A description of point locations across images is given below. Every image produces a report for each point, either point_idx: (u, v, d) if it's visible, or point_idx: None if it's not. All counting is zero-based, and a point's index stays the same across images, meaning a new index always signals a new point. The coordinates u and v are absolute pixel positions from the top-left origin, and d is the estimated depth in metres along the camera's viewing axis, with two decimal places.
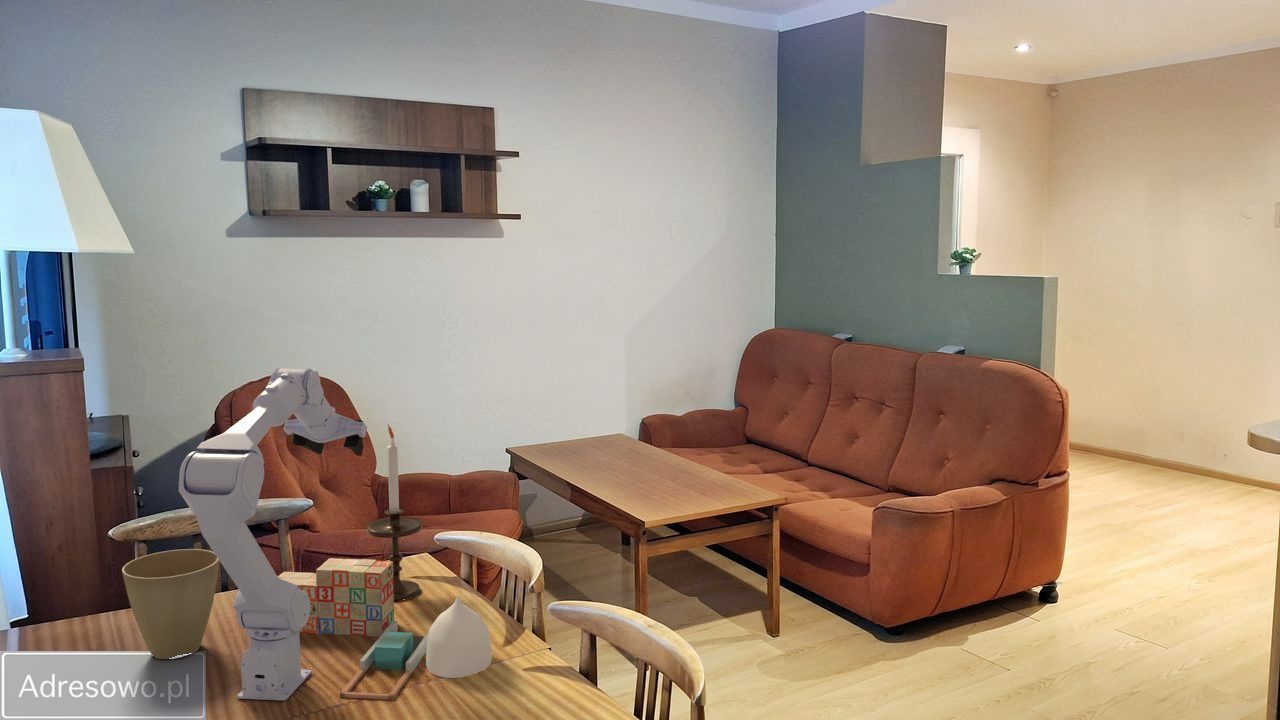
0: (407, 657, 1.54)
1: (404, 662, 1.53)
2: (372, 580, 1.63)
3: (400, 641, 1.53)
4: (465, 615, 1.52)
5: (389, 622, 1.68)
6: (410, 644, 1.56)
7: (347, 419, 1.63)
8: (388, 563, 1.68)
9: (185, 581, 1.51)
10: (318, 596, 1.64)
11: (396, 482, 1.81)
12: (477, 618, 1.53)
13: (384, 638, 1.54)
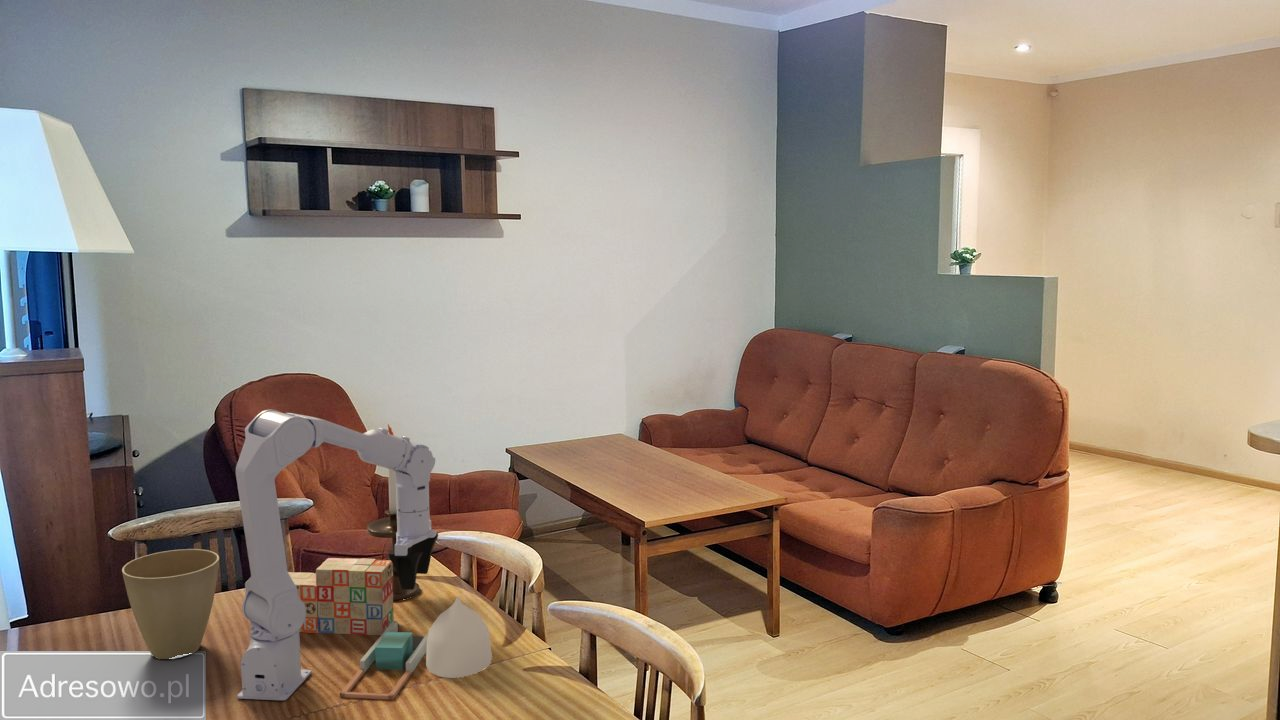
0: (407, 657, 1.54)
1: (404, 662, 1.53)
2: (373, 579, 1.64)
3: (400, 641, 1.53)
4: (465, 615, 1.52)
5: (389, 621, 1.68)
6: (410, 644, 1.56)
7: (415, 540, 1.59)
8: (388, 562, 1.68)
9: (185, 581, 1.51)
10: (318, 596, 1.64)
11: None
12: (477, 618, 1.53)
13: (384, 638, 1.54)
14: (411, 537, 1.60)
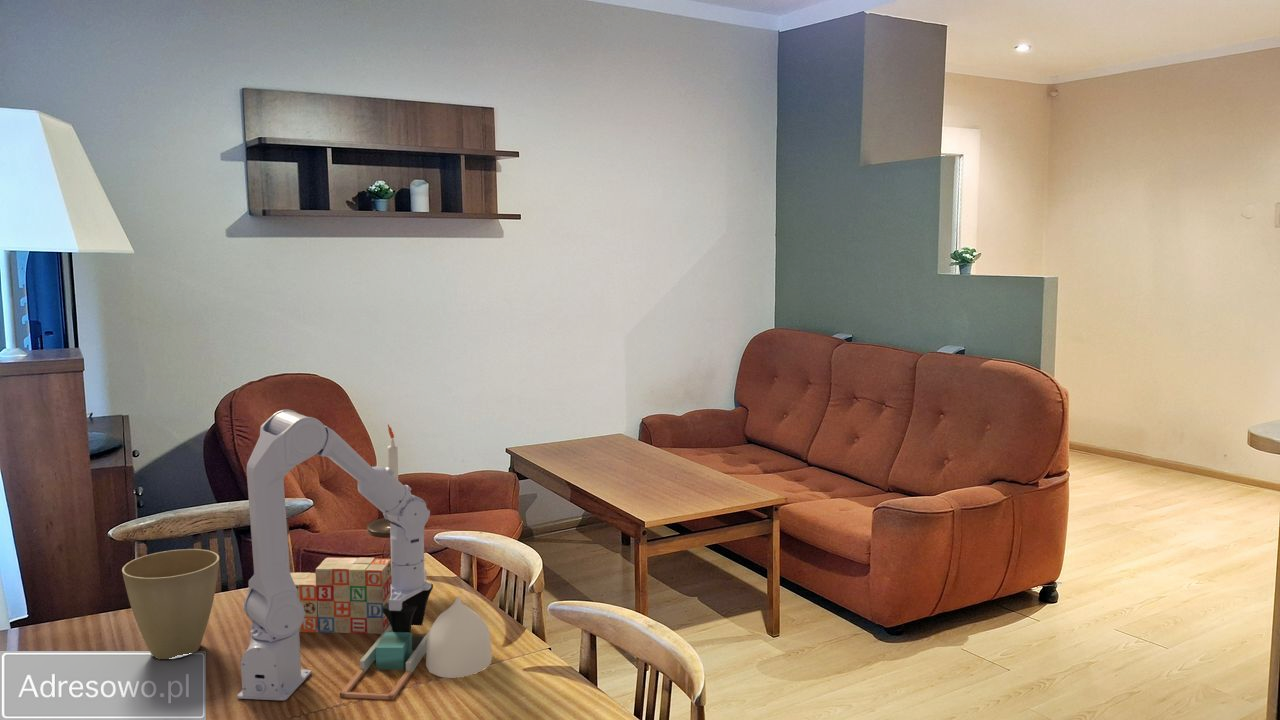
0: (407, 656, 1.54)
1: (405, 661, 1.53)
2: (373, 578, 1.64)
3: (400, 640, 1.54)
4: (465, 615, 1.52)
5: None
6: (409, 643, 1.56)
7: None
8: (387, 560, 1.69)
9: (185, 581, 1.51)
10: (318, 595, 1.65)
11: None
12: (477, 618, 1.53)
13: (384, 638, 1.54)
14: (406, 590, 1.58)
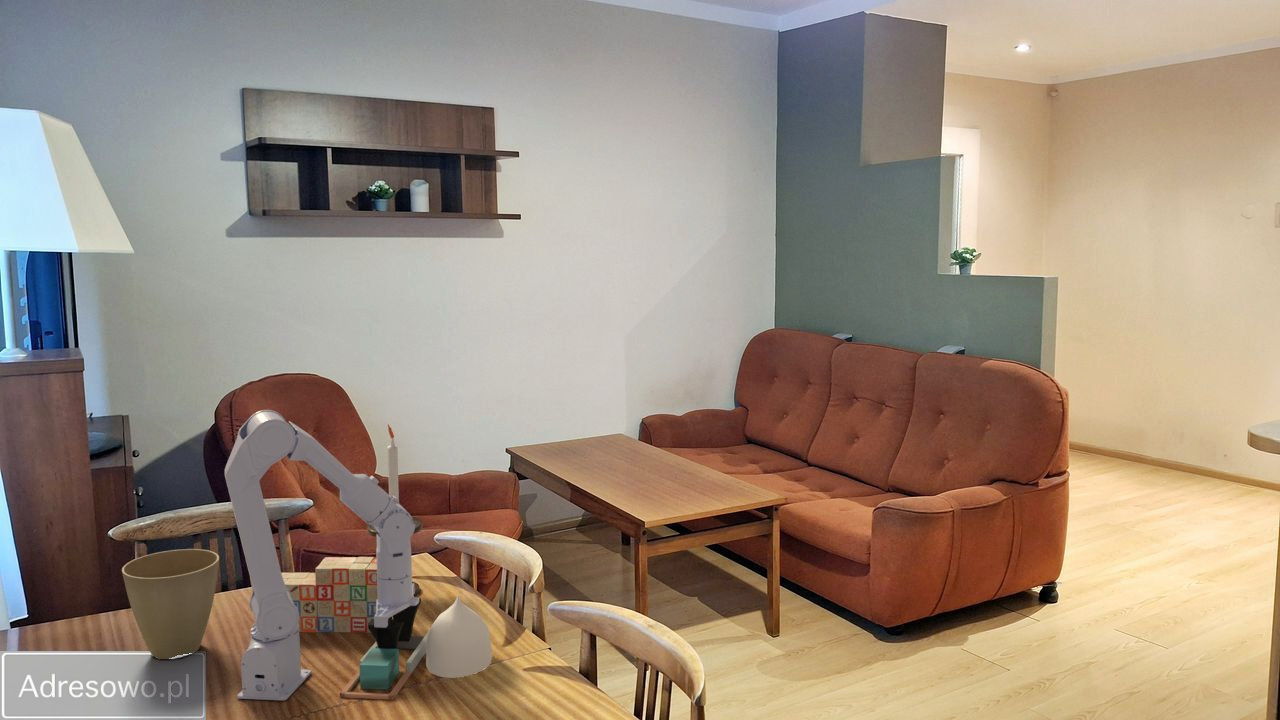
0: (393, 674, 1.48)
1: (390, 680, 1.46)
2: (373, 577, 1.65)
3: (386, 658, 1.47)
4: (465, 615, 1.52)
5: None
6: (396, 661, 1.49)
7: (396, 609, 1.50)
8: None
9: (185, 581, 1.51)
10: (317, 595, 1.65)
11: (396, 482, 1.81)
12: (477, 618, 1.53)
13: (369, 655, 1.48)
14: (392, 606, 1.51)
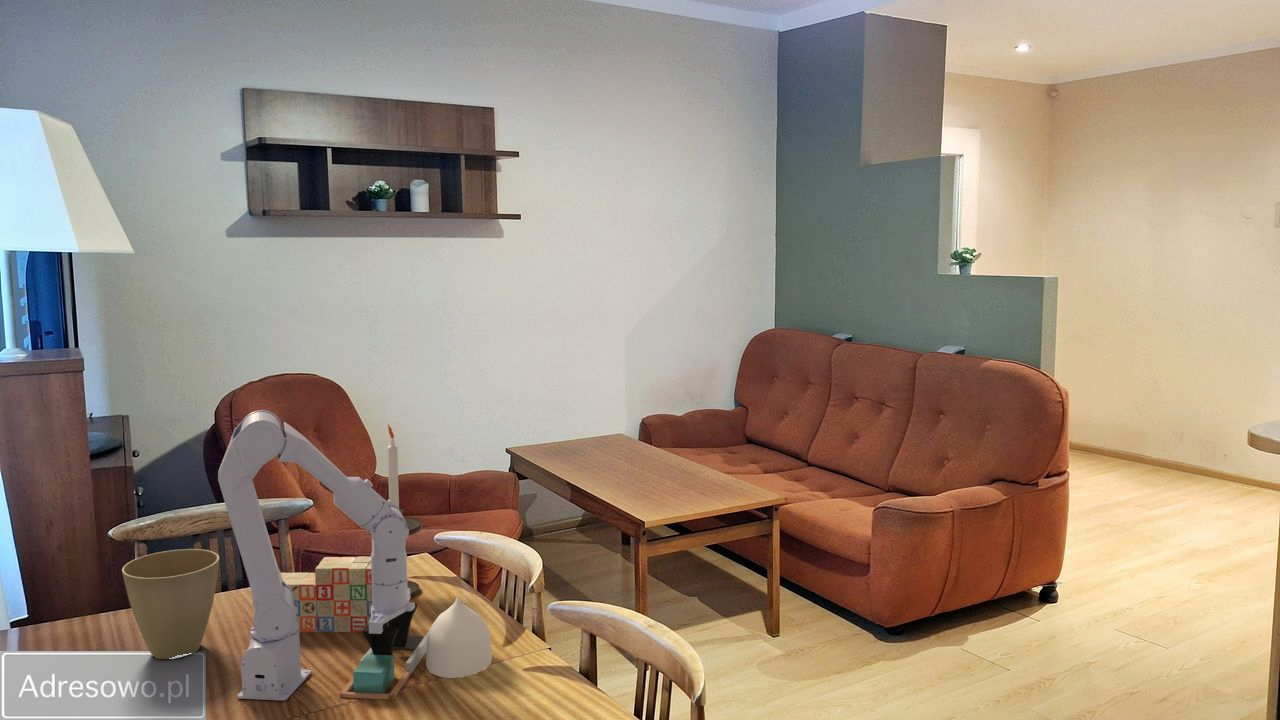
0: (388, 682, 1.45)
1: (384, 687, 1.44)
2: None
3: (380, 664, 1.44)
4: (465, 615, 1.52)
5: None
6: (391, 667, 1.47)
7: (391, 615, 1.48)
8: None
9: (185, 581, 1.51)
10: (317, 595, 1.65)
11: (396, 482, 1.81)
12: (477, 618, 1.53)
13: (363, 661, 1.45)
14: (387, 611, 1.49)
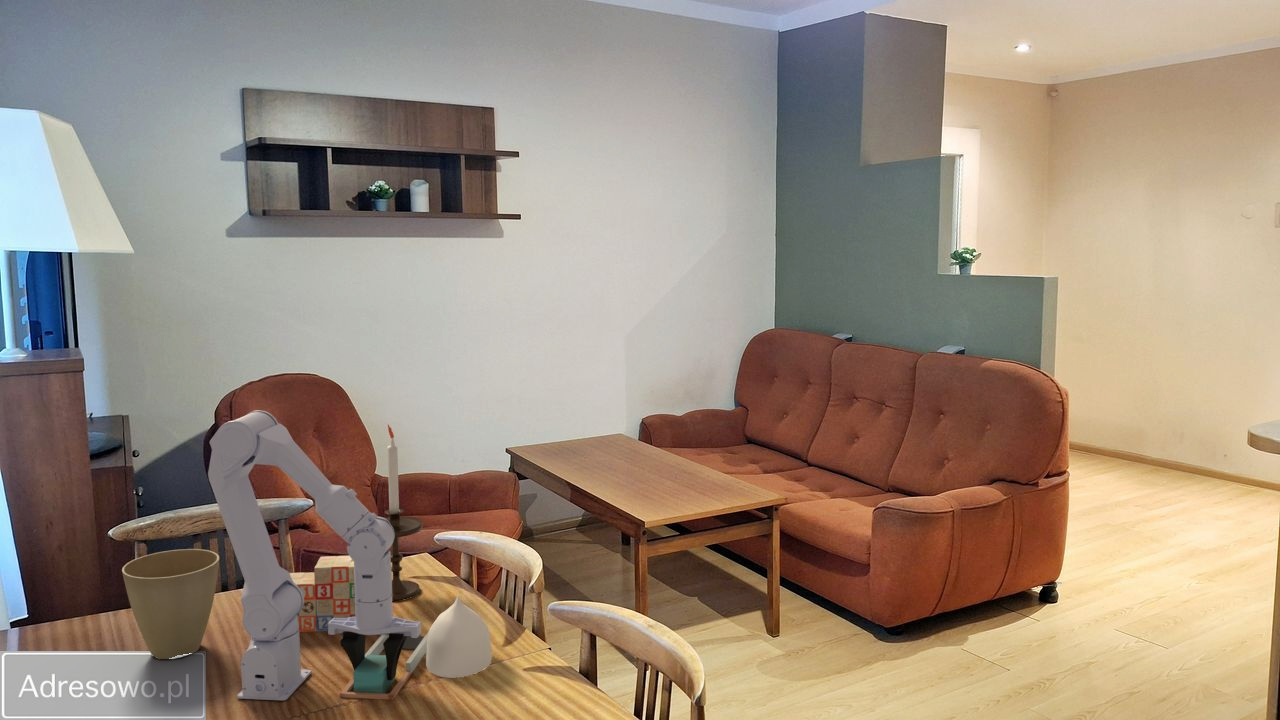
0: (388, 682, 1.45)
1: (385, 687, 1.44)
2: None
3: (380, 665, 1.44)
4: (465, 615, 1.52)
5: None
6: None
7: (401, 620, 1.46)
8: None
9: (185, 581, 1.51)
10: (316, 594, 1.65)
11: (396, 482, 1.81)
12: (477, 618, 1.53)
13: (364, 662, 1.45)
14: (393, 622, 1.45)
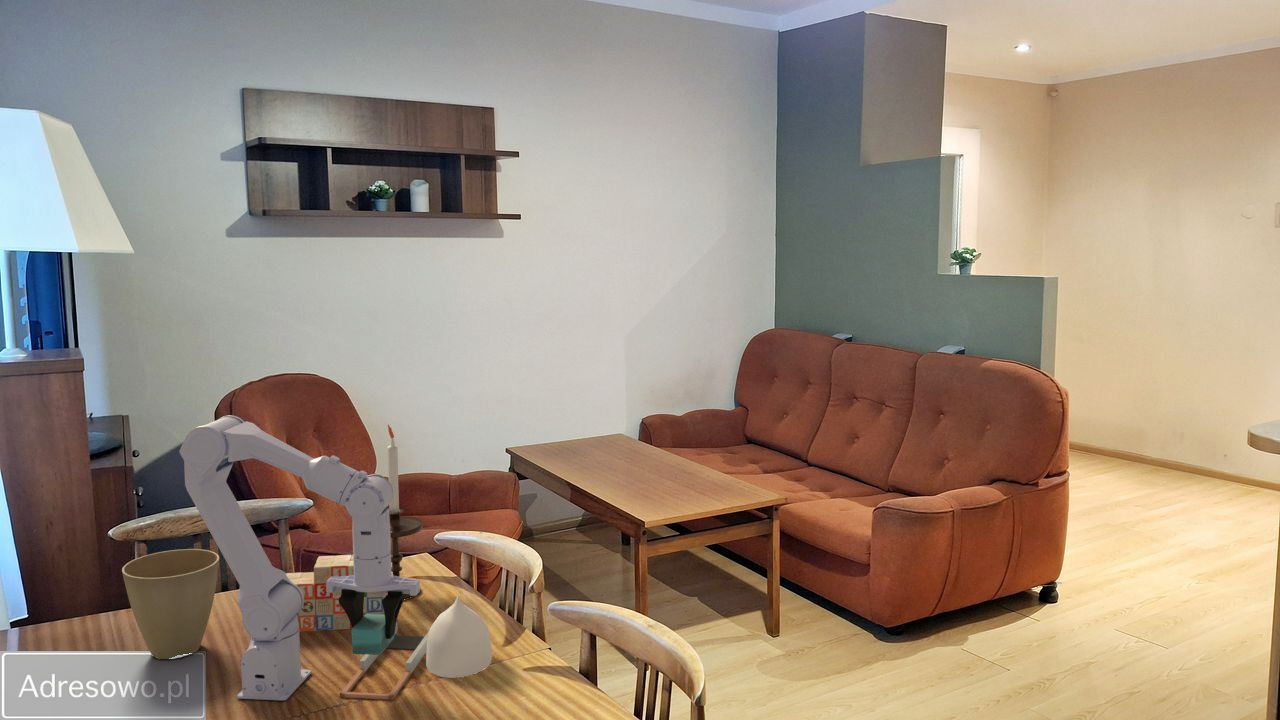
0: (387, 640, 1.44)
1: (383, 646, 1.43)
2: None
3: (379, 623, 1.43)
4: (465, 615, 1.52)
5: None
6: None
7: (400, 578, 1.45)
8: None
9: (185, 581, 1.51)
10: (316, 594, 1.65)
11: (396, 482, 1.81)
12: (477, 618, 1.53)
13: (362, 620, 1.45)
14: (392, 580, 1.44)
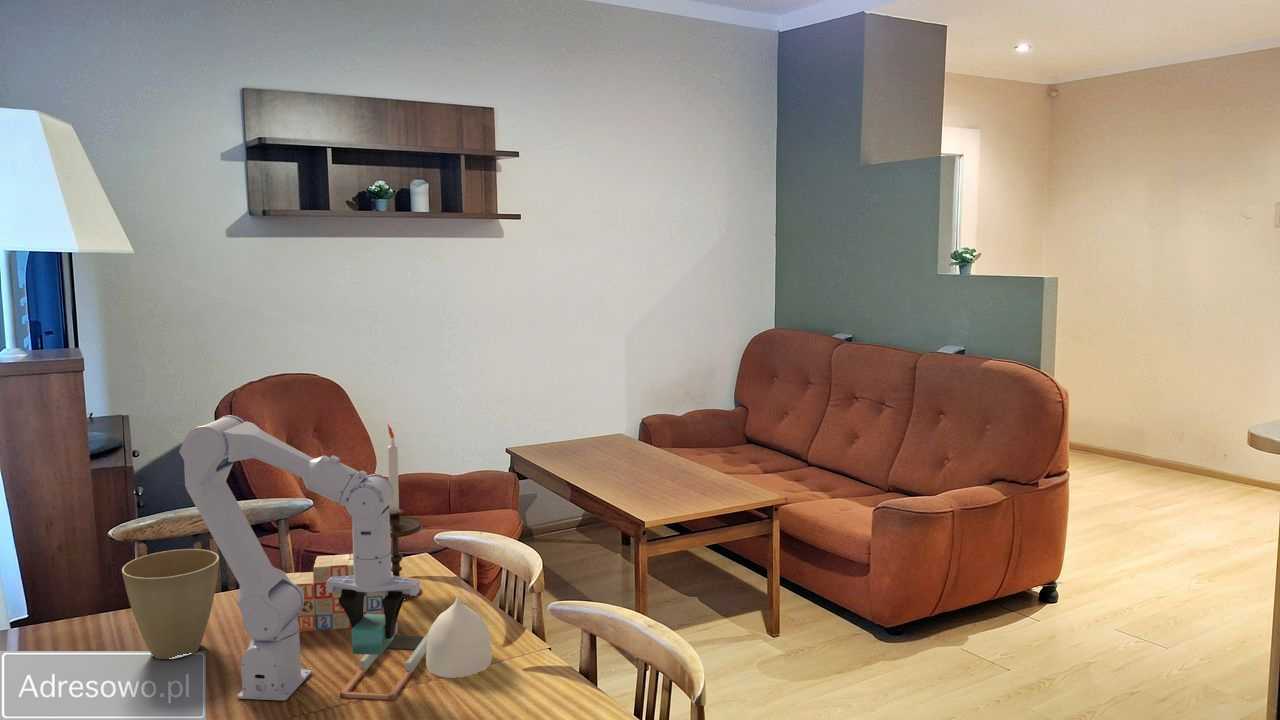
0: (387, 640, 1.44)
1: (383, 646, 1.43)
2: None
3: (379, 623, 1.43)
4: (465, 615, 1.52)
5: None
6: None
7: (400, 578, 1.45)
8: None
9: (185, 581, 1.51)
10: (315, 593, 1.66)
11: (396, 482, 1.81)
12: (477, 618, 1.53)
13: (362, 620, 1.45)
14: (392, 580, 1.44)
